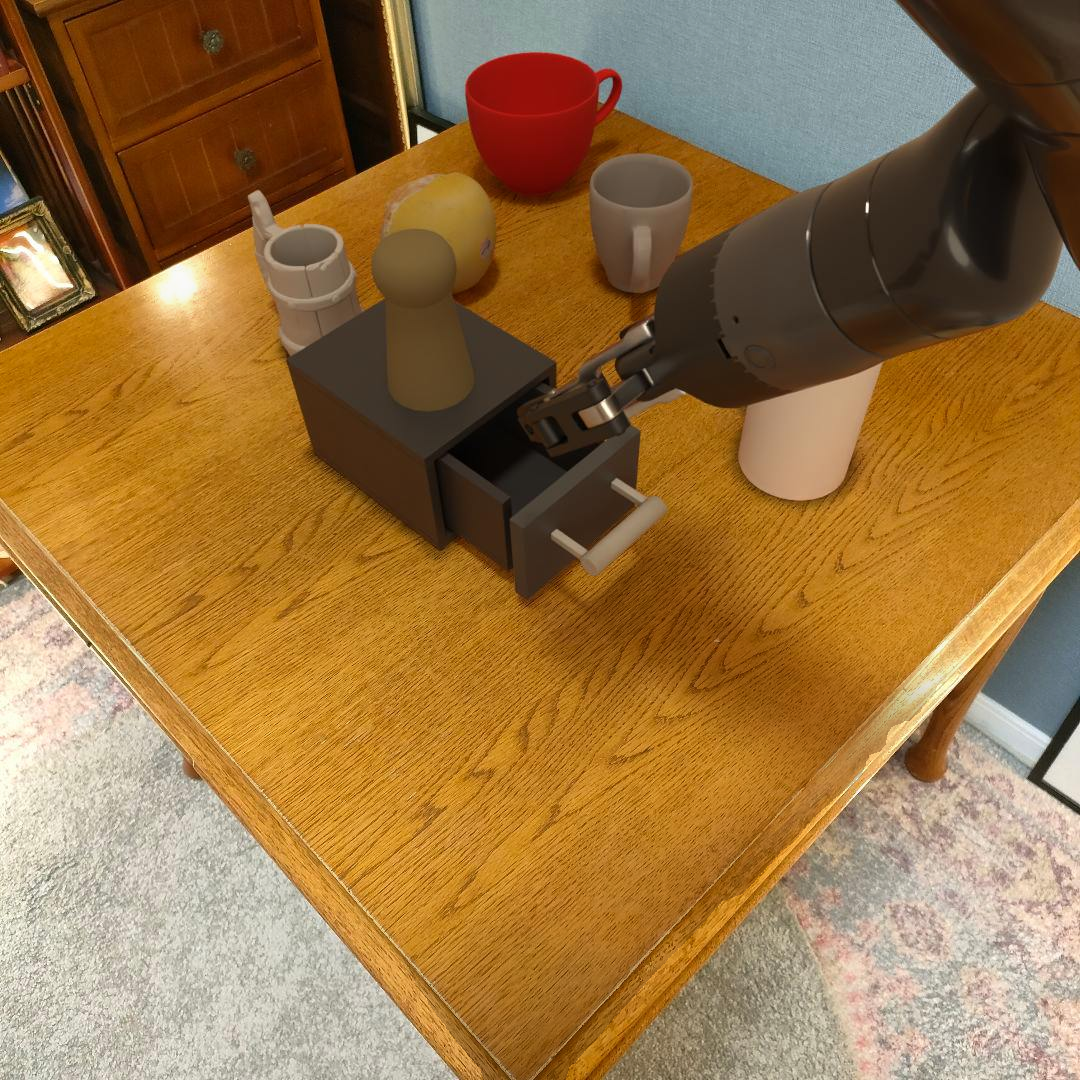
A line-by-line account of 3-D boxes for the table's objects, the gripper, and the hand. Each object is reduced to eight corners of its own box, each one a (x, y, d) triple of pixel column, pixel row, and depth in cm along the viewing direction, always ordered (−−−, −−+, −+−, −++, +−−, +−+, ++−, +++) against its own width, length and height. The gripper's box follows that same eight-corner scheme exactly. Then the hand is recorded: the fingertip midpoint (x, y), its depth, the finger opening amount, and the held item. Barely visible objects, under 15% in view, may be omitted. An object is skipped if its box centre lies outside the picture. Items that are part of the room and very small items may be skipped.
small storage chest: (558, 456, 74) (556, 361, 67) (439, 551, 69) (423, 459, 61) (431, 373, 81) (416, 278, 73) (313, 453, 75) (285, 359, 68)
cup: (823, 516, 70) (878, 344, 57) (720, 474, 73) (751, 302, 60) (862, 446, 74) (921, 273, 62) (763, 409, 77) (800, 236, 64)
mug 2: (588, 247, 91) (589, 152, 84) (680, 247, 91) (690, 152, 83) (587, 327, 84) (589, 231, 76) (688, 328, 84) (699, 231, 76)
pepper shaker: (373, 402, 65) (343, 263, 56) (407, 345, 68) (383, 208, 60) (457, 418, 63) (439, 280, 55) (486, 360, 67) (474, 222, 58)
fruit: (512, 252, 91) (506, 154, 83) (480, 322, 85) (471, 223, 77) (411, 239, 93) (397, 142, 85) (372, 307, 86) (352, 208, 79)
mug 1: (319, 385, 80) (285, 263, 71) (240, 323, 85) (200, 203, 76) (389, 342, 83) (366, 220, 74) (310, 285, 89) (279, 165, 79)
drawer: (681, 537, 68) (692, 461, 62) (574, 637, 63) (574, 565, 57) (503, 420, 76) (497, 343, 69) (395, 501, 71) (379, 425, 64)
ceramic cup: (652, 176, 99) (660, 79, 91) (512, 228, 94) (507, 130, 86) (584, 124, 106) (585, 30, 98) (450, 169, 101) (440, 74, 93)
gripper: (839, 150, 42) (627, 268, 56) (633, 303, 36) (453, 392, 50) (914, 298, 44) (691, 376, 58) (731, 468, 38) (530, 510, 52)
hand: (581, 384), depth 54 cm, fingers open, 8 cm apart
